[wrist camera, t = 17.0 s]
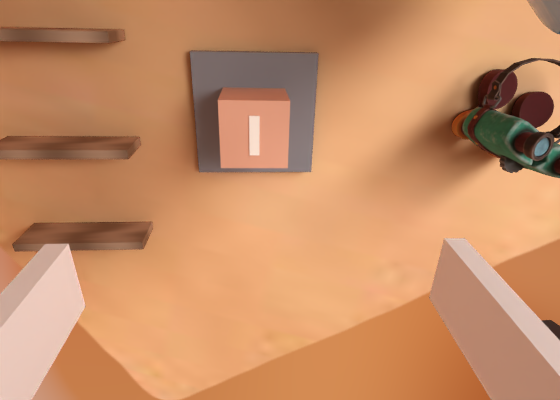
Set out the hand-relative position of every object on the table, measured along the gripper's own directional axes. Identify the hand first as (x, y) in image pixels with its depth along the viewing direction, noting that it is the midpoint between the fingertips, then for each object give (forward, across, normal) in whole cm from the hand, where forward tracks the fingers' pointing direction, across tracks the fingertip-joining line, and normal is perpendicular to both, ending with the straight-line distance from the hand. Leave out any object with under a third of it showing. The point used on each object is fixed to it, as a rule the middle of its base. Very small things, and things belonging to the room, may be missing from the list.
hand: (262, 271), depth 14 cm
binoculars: (+25, +24, +1) cm, 34 cm away
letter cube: (+24, 0, 0) cm, 24 cm away
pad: (+25, 0, 0) cm, 25 cm away
